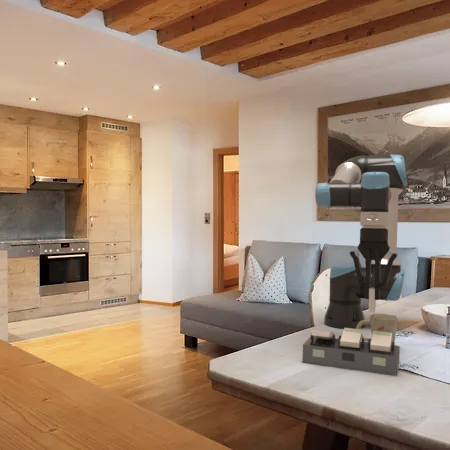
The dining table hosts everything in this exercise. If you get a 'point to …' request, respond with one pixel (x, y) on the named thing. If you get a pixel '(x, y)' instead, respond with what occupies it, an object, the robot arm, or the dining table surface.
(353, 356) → the console
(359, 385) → the dining table surface
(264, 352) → the dining table surface
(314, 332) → the rocker
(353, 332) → the rocker
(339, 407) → the dining table surface
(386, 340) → the rocker
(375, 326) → the mug
